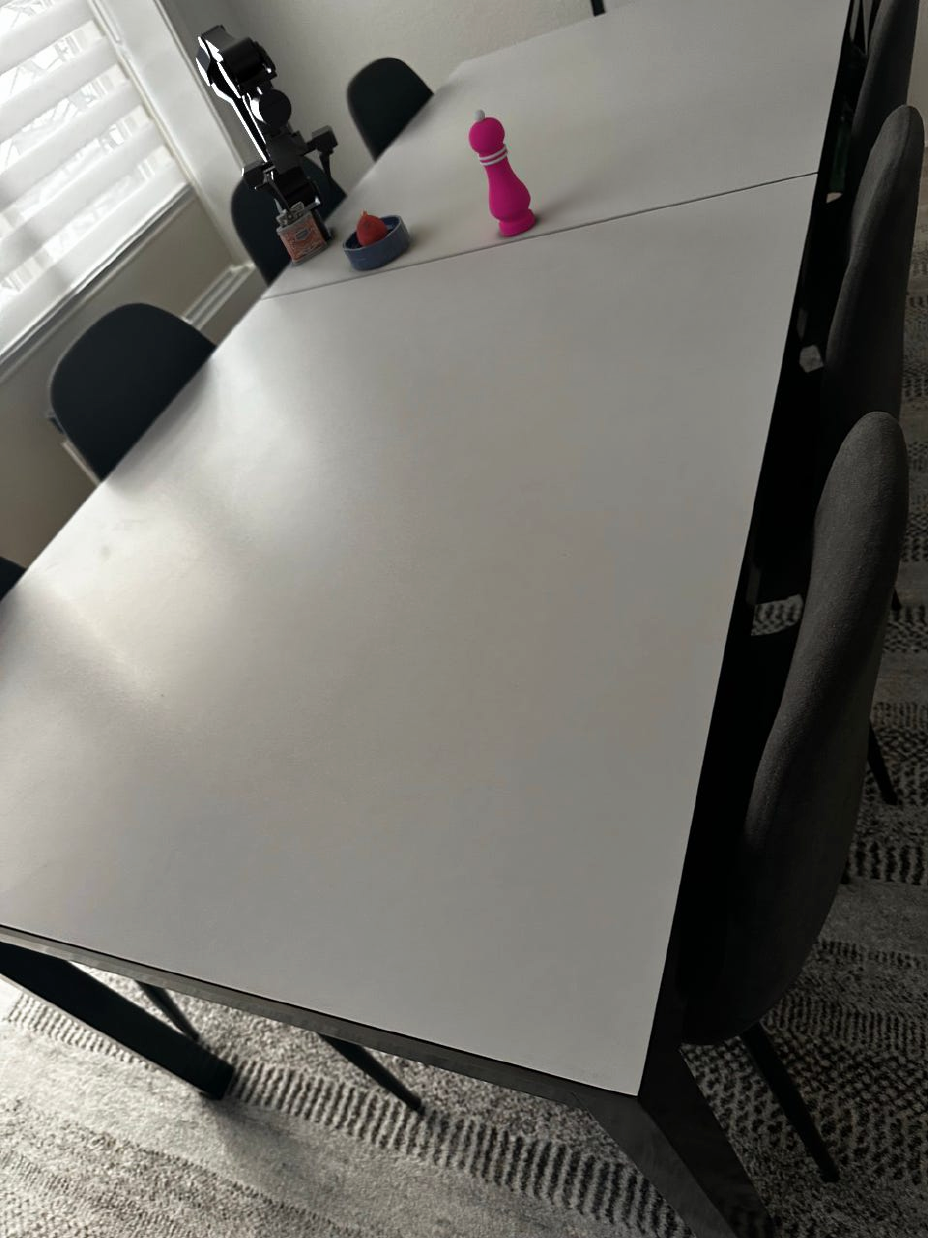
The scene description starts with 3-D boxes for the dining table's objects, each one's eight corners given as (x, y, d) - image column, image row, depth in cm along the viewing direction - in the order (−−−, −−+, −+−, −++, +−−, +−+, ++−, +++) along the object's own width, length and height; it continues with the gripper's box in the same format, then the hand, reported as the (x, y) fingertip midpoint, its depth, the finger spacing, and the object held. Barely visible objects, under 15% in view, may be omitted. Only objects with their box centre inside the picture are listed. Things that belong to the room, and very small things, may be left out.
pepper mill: (543, 212, 163) (504, 94, 150) (530, 233, 158) (489, 114, 145) (506, 220, 166) (466, 106, 153) (493, 241, 162) (450, 125, 149)
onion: (391, 253, 175) (372, 213, 170) (364, 262, 177) (345, 223, 172) (396, 239, 179) (379, 200, 174) (370, 248, 181) (352, 209, 176)
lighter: (296, 266, 192) (273, 221, 185) (291, 262, 194) (268, 217, 187) (329, 245, 193) (306, 200, 186) (323, 242, 195) (301, 197, 188)
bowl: (350, 256, 184) (340, 235, 181) (407, 229, 182) (398, 207, 179) (355, 279, 174) (345, 257, 171) (415, 251, 173) (405, 228, 170)
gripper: (223, 153, 162) (268, 236, 172) (318, 104, 160) (358, 192, 170) (225, 137, 171) (267, 217, 181) (315, 91, 168) (353, 175, 179)
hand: (311, 201), depth 177 cm, fingers open, 9 cm apart
